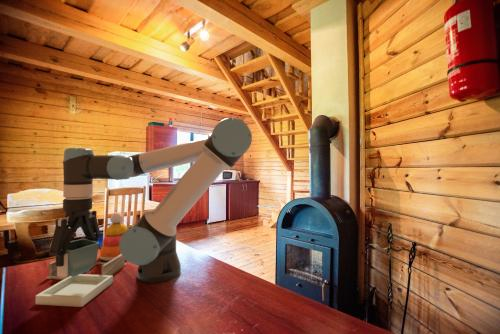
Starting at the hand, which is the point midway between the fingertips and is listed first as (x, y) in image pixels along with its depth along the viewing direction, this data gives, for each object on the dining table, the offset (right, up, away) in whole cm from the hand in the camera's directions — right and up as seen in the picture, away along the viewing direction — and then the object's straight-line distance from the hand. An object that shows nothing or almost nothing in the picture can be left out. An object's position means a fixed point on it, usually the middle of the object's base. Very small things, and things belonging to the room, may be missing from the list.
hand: (77, 268), depth 77 cm
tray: (0, -8, 0) cm, 8 cm away
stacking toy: (-4, -8, +30) cm, 31 cm away
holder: (-7, -7, +15) cm, 18 cm away
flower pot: (0, -2, 0) cm, 2 cm away
